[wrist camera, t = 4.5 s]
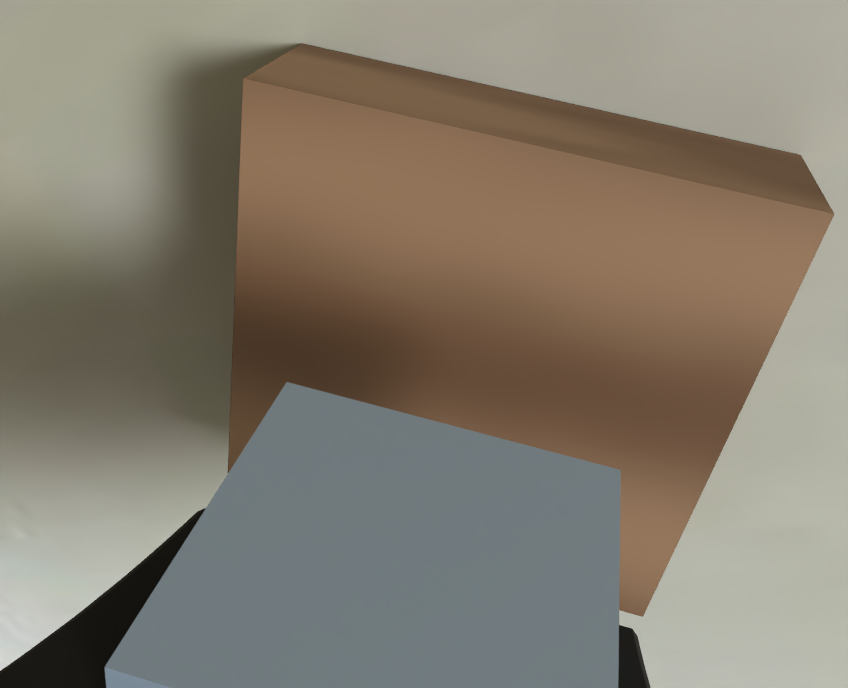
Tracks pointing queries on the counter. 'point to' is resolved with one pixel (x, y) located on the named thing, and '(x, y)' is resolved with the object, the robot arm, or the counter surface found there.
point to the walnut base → (513, 272)
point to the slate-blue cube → (387, 563)
